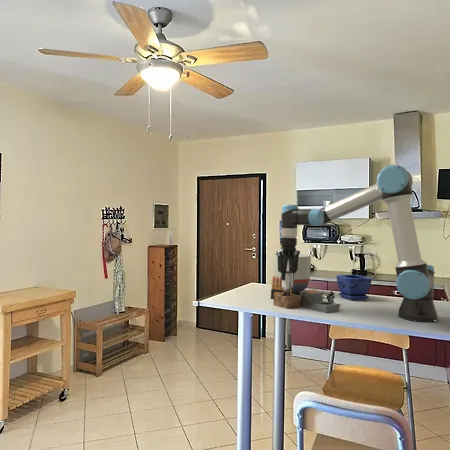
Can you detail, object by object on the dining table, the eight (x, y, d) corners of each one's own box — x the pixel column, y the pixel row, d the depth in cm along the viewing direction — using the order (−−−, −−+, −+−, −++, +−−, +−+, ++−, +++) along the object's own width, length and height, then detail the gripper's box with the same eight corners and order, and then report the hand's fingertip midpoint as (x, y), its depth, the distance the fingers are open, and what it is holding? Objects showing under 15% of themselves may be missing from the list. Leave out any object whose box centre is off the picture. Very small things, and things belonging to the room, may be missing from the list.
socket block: (339, 310, 184) (340, 295, 183) (326, 312, 178) (326, 297, 178) (309, 303, 198) (310, 289, 198) (296, 305, 193) (297, 290, 193)
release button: (316, 298, 191) (317, 291, 191) (311, 299, 189) (311, 291, 189) (311, 297, 194) (311, 290, 194) (305, 298, 192) (306, 290, 192)
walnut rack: (300, 306, 190) (300, 296, 190) (286, 308, 185) (287, 297, 185) (287, 303, 198) (287, 292, 198) (273, 305, 192) (273, 294, 192)
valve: (306, 302, 201) (329, 306, 194) (306, 289, 201) (330, 292, 194) (311, 300, 207) (334, 303, 200) (311, 287, 206) (334, 290, 200)
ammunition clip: (291, 300, 205) (292, 276, 205) (290, 301, 203) (291, 277, 203) (271, 298, 209) (272, 275, 209) (270, 298, 208) (271, 275, 207)
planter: (308, 297, 213) (309, 257, 213) (269, 295, 219) (270, 255, 218) (311, 291, 232) (312, 254, 232) (275, 289, 238) (276, 252, 238)
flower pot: (355, 295, 223) (356, 274, 223) (371, 300, 210) (372, 277, 210) (335, 296, 219) (335, 274, 219) (350, 301, 206) (350, 278, 206)
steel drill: (292, 296, 191) (292, 271, 191) (286, 297, 189) (287, 271, 189) (287, 295, 194) (287, 270, 194) (281, 296, 192) (282, 271, 192)
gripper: (295, 236, 199) (293, 284, 199) (270, 236, 189) (269, 286, 190) (306, 237, 193) (305, 286, 193) (281, 237, 183) (280, 289, 183)
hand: (287, 286), depth 191 cm, fingers closed on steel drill, 3 cm apart
